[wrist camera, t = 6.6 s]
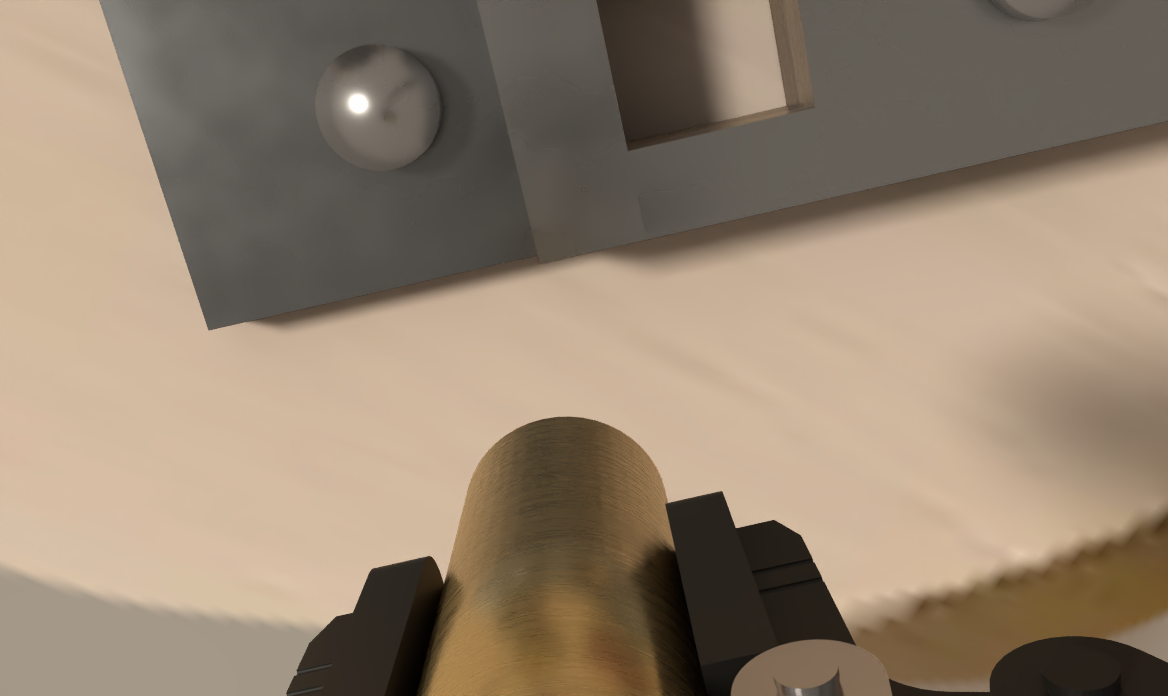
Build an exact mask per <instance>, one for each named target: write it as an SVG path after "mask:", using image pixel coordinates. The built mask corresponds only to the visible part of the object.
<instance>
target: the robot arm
mask: <svg viewBox="0 0 1168 696" xmlns="http://www.w3.org/2000/svg"><path fill="white" fill-rule="evenodd" d="M665 506H666V511H667V515H668V520H669V524H670V529H671V534H672V538H673V543H674V547H675V552H676V556H677V561H678V565H679V570H680V575H681V579H682V584H683V588H684V593H685V597H686V602H687V607H688V611H689V616H690V620H691V625H692V629H693V634H694V639H695V643H696V648H697V652H698V657H699V661H700V666H701V670H702V675H703V679H704V683H705V687H706V692H707V696H1168V663H1167V662H1165V661H1163V660H1161V659H1159V658H1156V657H1154V656H1152V655H1150V654H1148V653H1146V652H1143V651H1141V650H1139V649H1136V648H1134V647H1131V646H1129V645H1126V644H1122V643H1119V642H1115V641H1111V640H1106V639H1100V638H1093V637H1082V636H1066V637H1055V638H1048V639H1043V640H1038V641H1035V642H1031V643H1028V644H1025V645H1023V646H1021V647H1019V648H1017V649H1014V650H1013V651H1011V652H1010V653H1008V654H1007V655H1005V656H1004V657H1003V658H1002V659H1001V660H1000V661H999V662H998V663H997V664H996V666H995V668H994V669H993V671H992V673H991V677H990V692H944V691H931V690H925V689H919V688H915V687H911V686H907V685H904V684H901V683H898V682H895V681H893V680H891V679H889V678H888V675H887V672H886V669H885V668H884V666H883V665H882V663H881V662H880V661H879V660H878V659H877V658H876V657H875V656H874V655H873V654H871V653H869V652H868V651H866V650H864V649H862V648H860V647H857V646H856V644H855V642H854V640H853V638H852V636H851V634H850V632H849V630H848V628H847V626H846V624H845V622H844V620H843V618H842V616H841V614H840V612H839V611H838V609H837V607H836V605H835V603H834V601H833V599H832V597H831V595H830V593H829V591H828V589H827V587H826V585H825V583H824V582H823V580H822V577H821V575H820V573H819V571H818V569H817V567H816V565H815V563H813V559H812V557H811V555H810V553H809V551H808V549H807V547H806V545H805V543H804V541H803V539H802V537H801V535H799V534H798V533H796V532H794V531H792V530H791V529H789V528H787V527H785V526H784V525H782V524H780V523H779V522H777V521H775V520H772V521H767V522H763V523H758V524H754V525H749V526H745V527H740V528H735V525H734V522H733V519H732V517H731V514H730V511H729V508H728V506H727V503H726V500H725V497H724V495H723V492H722V491H720V492H715V493H711V494H706V495H702V496H697V497H693V498H688V499H684V500H679V501H675V502H670V503H666V504H665ZM443 587H444V583H443V580H442V577H441V574H440V571H439V568H438V566H437V564H436V562H435V561H434V559H433V558H432V557H431V556H427V557H423V558H418V559H414V560H409V561H405V562H400V563H396V564H392V565H387V566H383V567H378V568H374V569H372V570H371V571H370V573H369V575H368V577H367V580H366V582H365V585H364V587H363V590H362V592H361V595H360V597H359V600H358V602H357V604H356V607H355V609H354V612H353V613H350V614H346V615H341V616H337V617H335V618H334V619H333V620H332V621H331V622H330V623H329V624H328V625H327V626H326V627H325V628H324V629H323V630H322V631H321V632H320V633H319V634H318V635H317V636H316V637H315V638H314V639H313V640H312V641H311V642H310V643H309V645H308V647H307V650H306V652H305V654H304V656H303V658H302V660H301V662H300V665H299V667H298V669H297V675H296V676H294V678H293V680H292V682H291V684H290V686H289V688H288V690H287V693H286V694H287V696H416V694H417V690H418V686H419V682H420V678H421V674H422V670H423V666H424V662H425V658H426V654H427V650H428V646H429V642H430V638H431V634H432V630H433V627H434V623H435V619H436V615H437V611H438V607H439V603H440V599H441V595H442V591H443Z"/></svg>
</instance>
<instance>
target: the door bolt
mask: <svg viewBox="0 0 1168 696" xmlns="http://www.w3.org/2000/svg"><path fill="white" fill-rule="evenodd" d="M99 1H100V4H101V7H102V10H103V13H104V16H105V19H106V22H107V25H108V28H109V31H110V34H111V37H112V40H113V43H114V46H115V49H116V52H117V55H118V58H119V61H120V65H121V68H122V71H123V74H124V77H125V80H126V83H127V86H128V89H129V92H130V95H131V98H132V101H133V104H134V107H135V110H136V113H137V116H138V119H139V122H140V125H141V128H142V131H143V134H144V137H145V140H146V143H147V146H148V149H149V152H150V155H151V158H152V161H153V164H154V167H155V170H156V173H157V176H158V179H159V182H160V185H161V188H162V191H163V194H164V197H165V200H166V203H167V206H168V209H169V212H170V215H171V218H172V221H173V224H174V227H175V230H176V233H177V236H178V239H179V242H180V246H181V249H182V252H183V255H184V258H185V261H186V264H187V267H188V270H189V273H190V276H191V279H192V282H193V285H194V288H195V291H196V294H197V297H198V300H199V303H200V306H201V309H202V312H203V315H204V318H205V321H206V324H207V327H208V330H213V329H217V328H222V327H226V326H230V325H235V324H239V323H243V322H248V321H252V320H257V319H261V318H265V317H270V316H274V315H278V314H283V313H287V312H292V311H296V310H300V309H305V308H309V307H313V306H318V305H322V304H327V303H331V302H335V301H340V300H344V299H348V298H353V297H357V296H362V295H366V294H370V293H375V292H379V291H383V290H388V289H392V288H397V287H401V286H405V285H410V284H414V283H418V282H423V281H427V280H432V279H436V278H440V277H445V276H449V275H453V274H458V273H462V272H467V271H471V270H475V269H480V268H484V267H488V266H493V265H497V264H502V263H506V262H510V261H515V260H519V259H523V258H528V257H532V256H537V255H538V259H539V263H540V264H543V263H547V262H552V261H556V260H561V259H565V258H569V257H574V256H578V255H582V254H587V253H591V252H596V251H600V250H604V249H609V248H613V247H618V246H622V245H626V244H631V243H635V242H639V241H644V240H648V239H653V238H657V237H661V236H666V235H670V234H674V233H679V232H683V231H688V230H692V229H696V228H701V227H705V226H710V225H714V224H718V223H723V222H727V221H731V220H736V219H740V218H745V217H749V216H753V215H758V214H762V213H766V212H771V211H775V210H780V209H784V208H788V207H793V206H797V205H802V204H806V203H810V202H815V201H819V200H823V199H828V198H832V197H837V196H841V195H845V194H850V193H854V192H858V191H863V190H867V189H872V188H876V187H880V186H885V185H889V184H894V183H898V182H902V181H907V180H911V179H915V178H920V177H924V176H929V175H933V174H937V173H942V172H946V171H950V170H955V169H959V168H964V167H968V166H972V165H977V164H981V163H986V162H990V161H994V160H999V159H1003V158H1007V157H1012V156H1016V155H1021V154H1025V153H1029V152H1034V151H1038V150H1042V149H1047V148H1051V147H1056V146H1060V145H1064V144H1069V143H1073V142H1077V141H1082V140H1086V139H1091V138H1095V137H1099V136H1104V135H1108V134H1113V133H1117V132H1121V131H1126V130H1130V129H1134V128H1139V127H1143V126H1148V125H1152V124H1156V123H1161V122H1165V121H1168V0H769V3H770V9H771V15H772V20H773V26H774V32H775V38H776V44H777V50H778V56H779V62H780V68H781V74H782V80H783V86H784V92H785V98H786V104H787V106H785V107H781V108H777V109H772V110H768V111H764V112H759V113H755V114H751V115H746V116H742V117H738V118H734V119H729V120H725V121H721V122H716V123H712V124H708V125H703V126H699V127H695V128H690V129H686V130H682V131H677V132H673V133H669V134H664V135H660V136H656V137H651V138H647V139H643V140H638V141H634V142H630V143H626V140H625V135H624V130H623V126H622V121H621V116H620V111H619V107H618V102H617V97H616V92H615V88H614V83H613V78H612V73H611V69H610V64H609V59H608V54H607V50H606V45H605V40H604V35H603V31H602V26H601V21H600V16H599V12H598V7H597V2H596V0H99Z"/></svg>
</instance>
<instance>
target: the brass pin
mask: <svg viewBox="0 0 1168 696" xmlns="http://www.w3.org/2000/svg"><path fill="white" fill-rule="evenodd" d="M666 503H668V501H667V496H666V492H665V488H664V485H663V482H662V478H661V476H660V474H659V472H658V470H657V468H656V466H655V464H654V463H653V461H652V460H651V458H650V457H649V456H648V454H647V453H646V452H645V451H644V450H643V449H642V448H641V446H639V445H638V444H637V443H636V442H635V441H634V440H633V439H631V438H630V437H629V436H627V435H626V434H624V433H623V432H621V431H619V430H617V429H615V428H613V427H611V426H609V425H607V424H604V423H601V422H598V421H595V420H590V419H586V418H579V417H554V418H548V419H542V420H538V421H535V422H532V423H529V424H526V425H524V426H522V427H519V428H517V429H515V430H514V431H512V432H511V433H509V434H507V435H506V436H504V437H503V438H502V439H501V440H499V441H498V442H497V443H496V444H495V445H494V446H493V447H492V448H491V449H490V450H489V451H488V452H487V453H486V454H485V456H484V457H483V458H482V460H481V461H480V463H479V464H478V466H477V468H476V470H475V472H474V473H473V476H472V479H471V481H470V484H469V487H468V491H467V495H466V499H465V503H464V507H463V511H462V515H461V519H460V523H459V527H458V531H457V535H456V539H455V543H454V547H453V551H452V555H451V559H450V563H449V567H448V571H447V575H446V579H445V583H444V587H443V591H442V595H441V599H440V603H439V607H438V611H437V615H436V619H435V623H434V627H433V630H432V634H431V638H430V642H429V646H428V650H427V654H426V658H425V662H424V666H423V670H422V674H421V678H420V682H419V686H418V690H417V694H416V696H707V692H706V687H705V683H704V679H703V675H702V670H701V666H700V661H699V657H698V652H697V648H696V643H695V639H694V634H693V629H692V625H691V620H690V616H689V611H688V607H687V602H686V597H685V593H684V588H683V584H682V579H681V575H680V570H679V565H678V561H677V556H676V552H675V547H674V543H673V538H672V534H671V529H670V524H669V520H668V515H667V511H666V506H665V504H666Z"/></svg>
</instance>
